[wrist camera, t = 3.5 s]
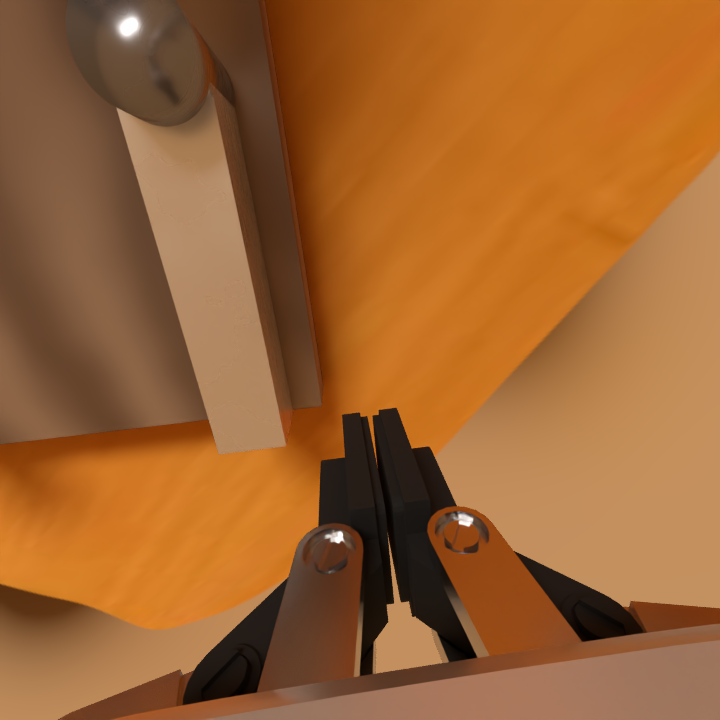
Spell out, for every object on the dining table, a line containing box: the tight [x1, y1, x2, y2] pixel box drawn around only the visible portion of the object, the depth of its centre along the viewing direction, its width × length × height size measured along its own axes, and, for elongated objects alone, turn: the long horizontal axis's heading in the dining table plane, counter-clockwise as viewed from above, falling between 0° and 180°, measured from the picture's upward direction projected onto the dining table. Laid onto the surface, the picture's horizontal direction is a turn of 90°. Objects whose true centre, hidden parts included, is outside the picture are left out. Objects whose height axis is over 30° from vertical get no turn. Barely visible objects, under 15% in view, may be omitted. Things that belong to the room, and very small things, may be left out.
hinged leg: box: [65, 0, 293, 454], centre depth 14 cm, size 16×3×4 cm, turn 6°
